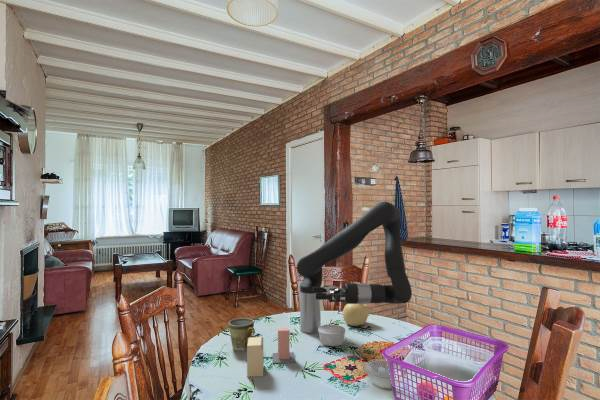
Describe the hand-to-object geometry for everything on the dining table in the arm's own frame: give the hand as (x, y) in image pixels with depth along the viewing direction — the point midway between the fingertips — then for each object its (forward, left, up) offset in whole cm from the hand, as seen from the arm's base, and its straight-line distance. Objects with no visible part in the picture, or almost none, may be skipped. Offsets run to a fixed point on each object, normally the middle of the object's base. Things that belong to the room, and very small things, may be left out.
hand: (314, 293), depth 124 cm
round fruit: (-26, +32, -23) cm, 47 cm away
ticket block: (+5, -23, -23) cm, 33 cm away
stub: (-2, -11, -22) cm, 25 cm away
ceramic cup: (-16, -23, -23) cm, 36 cm away
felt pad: (-2, -11, -23) cm, 26 cm away
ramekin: (-10, +12, -23) cm, 28 cm away
